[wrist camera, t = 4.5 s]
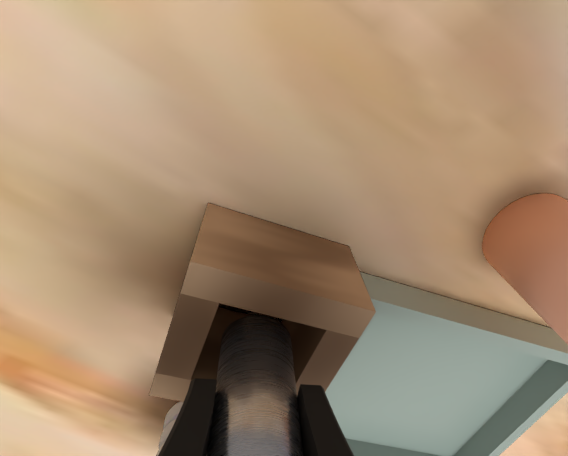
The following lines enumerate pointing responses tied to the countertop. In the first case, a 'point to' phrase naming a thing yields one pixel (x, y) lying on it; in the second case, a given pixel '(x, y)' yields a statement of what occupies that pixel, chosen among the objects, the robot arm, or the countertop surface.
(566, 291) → the terracotta round
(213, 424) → the cylinder
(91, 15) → the countertop surface
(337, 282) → the walnut block
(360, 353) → the tray
